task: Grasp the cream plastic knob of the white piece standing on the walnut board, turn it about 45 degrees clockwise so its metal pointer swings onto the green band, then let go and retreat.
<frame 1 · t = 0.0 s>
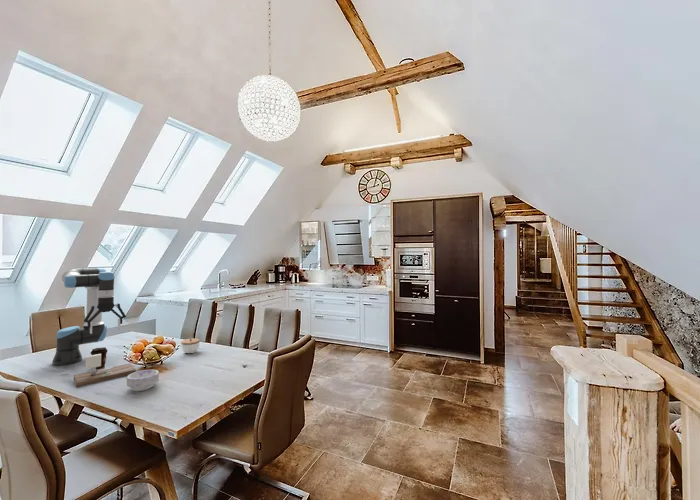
hand: (105, 331, 188), 28 cm above the table, fingers open, 13 cm apart
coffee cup: (98, 368, 200), on the table
paper bowls: (142, 388, 174), on the table
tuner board: (105, 376, 188), on the table
lidded bowl: (190, 352, 234), on the table
white piece: (99, 363, 186), point 9 cm above the table, hinge at 0.0°
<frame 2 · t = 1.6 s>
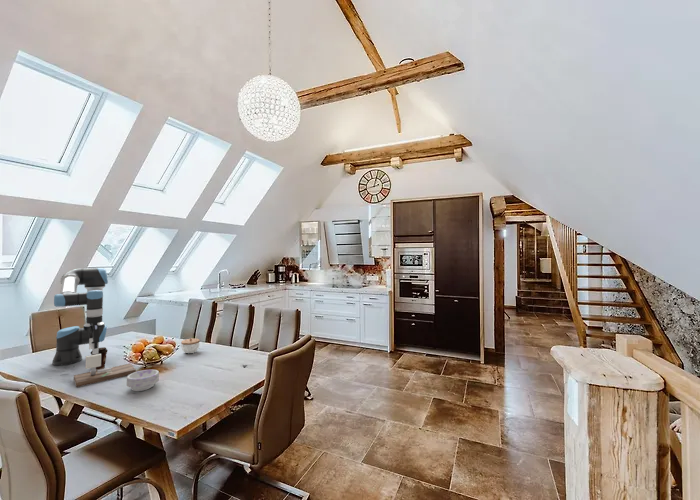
hand: (93, 351, 184), 17 cm above the table, fingers open, 13 cm apart
nothing on the table moved.
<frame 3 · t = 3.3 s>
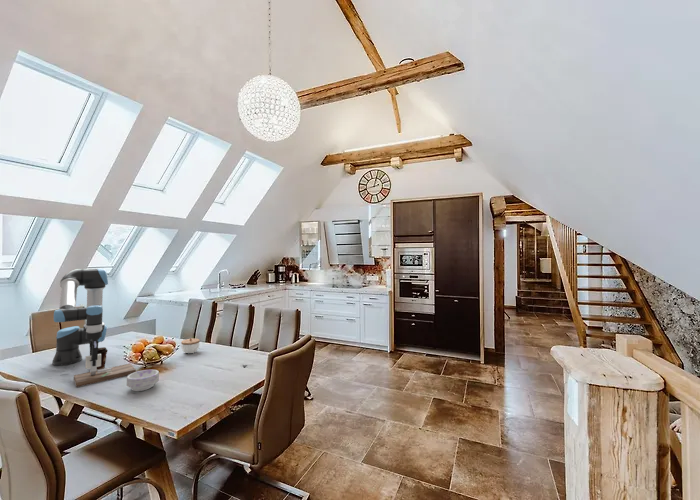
hand: (93, 370, 184), 5 cm above the table, fingers closed on white piece, 2 cm apart
white piece: (99, 363, 186), point 9 cm above the table, hinge at 0.0°, touching gripper
everything else where it was.
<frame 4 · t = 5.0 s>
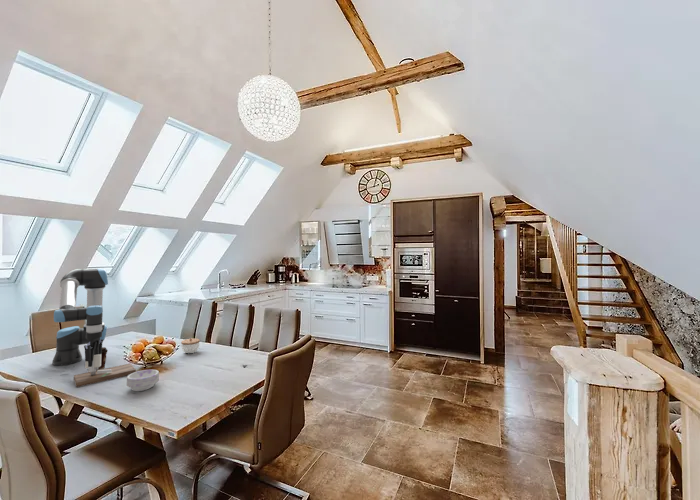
hand: (93, 370, 184), 5 cm above the table, fingers closed on white piece, 3 cm apart
white piece: (99, 364, 185), point 9 cm above the table, hinge at -23.4°, touching gripper
everything else where it was.
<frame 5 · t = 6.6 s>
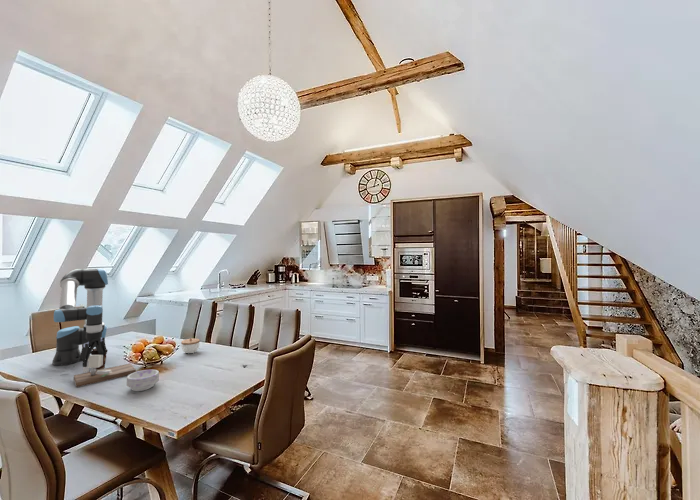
hand: (93, 368, 184), 6 cm above the table, fingers open, 9 cm apart
white piece: (98, 364, 184), point 9 cm above the table, hinge at -38.6°
everything else where it was.
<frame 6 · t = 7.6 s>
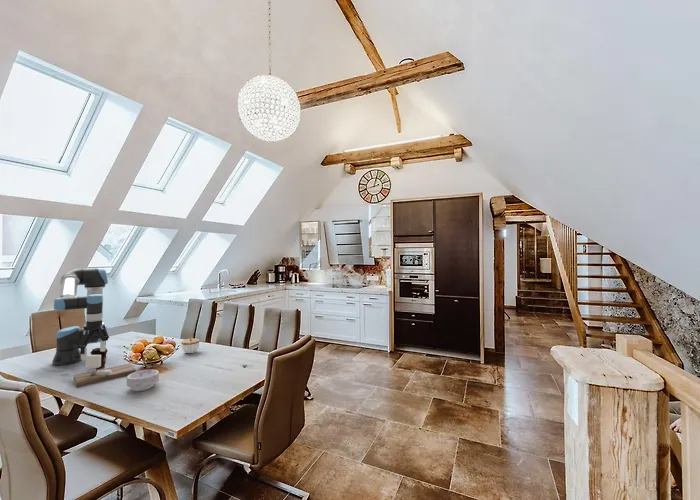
hand: (93, 355, 184), 14 cm above the table, fingers open, 13 cm apart
white piece: (98, 364, 184), point 9 cm above the table, hinge at -39.4°
everything else where it was.
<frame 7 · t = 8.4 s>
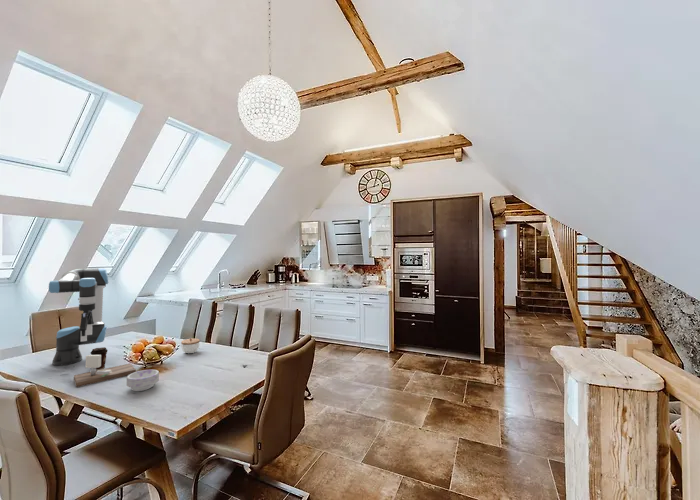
hand: (86, 337, 186), 24 cm above the table, fingers open, 13 cm apart
nothing on the table moved.
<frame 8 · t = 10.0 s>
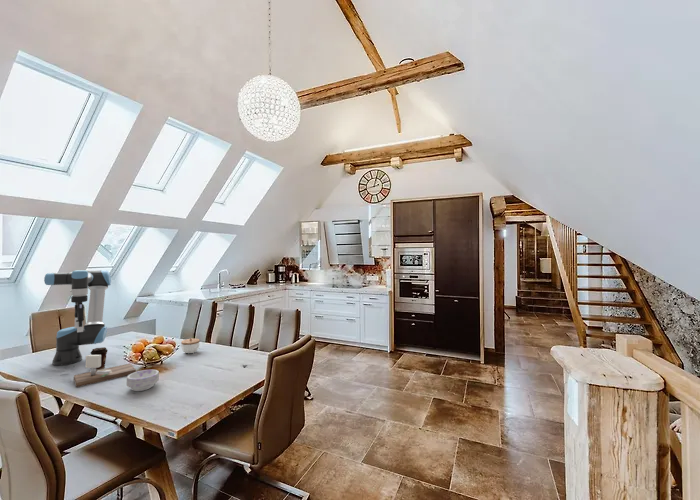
hand: (78, 329, 187), 29 cm above the table, fingers open, 13 cm apart
nothing on the table moved.
at the end: white piece at -40° (first picture: +0°); the gripper is holding nothing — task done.
